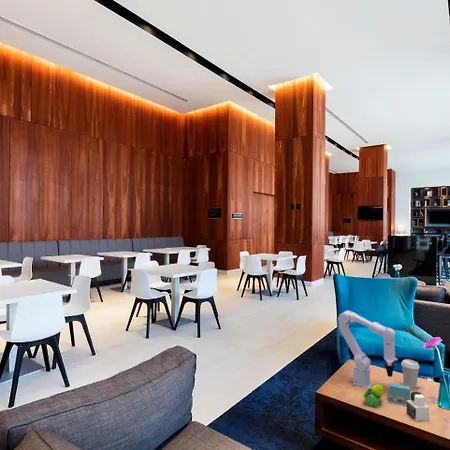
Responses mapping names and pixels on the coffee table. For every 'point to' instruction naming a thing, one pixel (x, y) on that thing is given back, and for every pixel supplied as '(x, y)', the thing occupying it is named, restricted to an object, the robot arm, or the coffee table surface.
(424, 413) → the medicine bottle
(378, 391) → the fruit basket
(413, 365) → the coffee cup
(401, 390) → the lintel
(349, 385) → the coffee table surface
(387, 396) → the build plate
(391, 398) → the pillar near arm
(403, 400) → the pillar far
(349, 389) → the coffee table surface
